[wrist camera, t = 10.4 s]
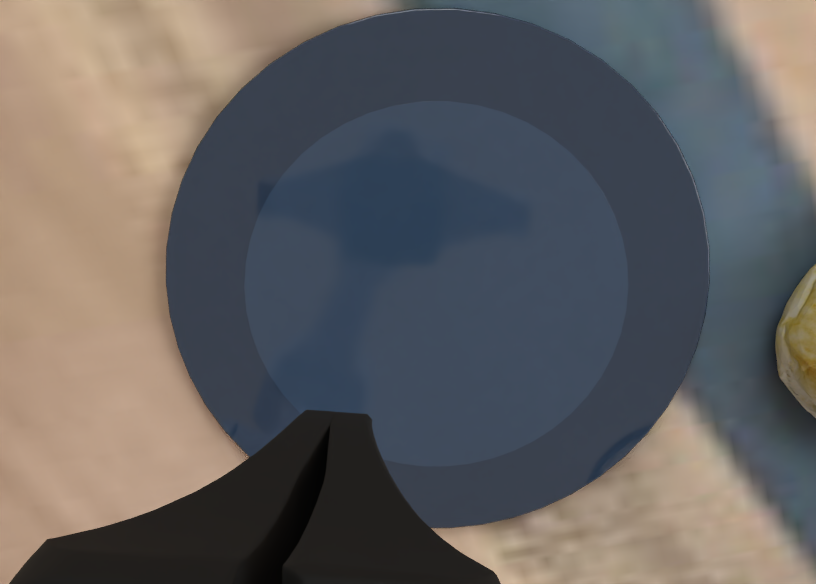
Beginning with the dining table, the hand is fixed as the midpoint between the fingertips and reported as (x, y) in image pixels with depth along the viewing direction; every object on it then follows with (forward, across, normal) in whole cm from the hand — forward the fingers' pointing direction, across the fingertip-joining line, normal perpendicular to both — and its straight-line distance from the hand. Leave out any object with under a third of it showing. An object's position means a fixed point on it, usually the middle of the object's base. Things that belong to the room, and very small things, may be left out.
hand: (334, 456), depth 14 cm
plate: (+9, -2, -1) cm, 10 cm away
